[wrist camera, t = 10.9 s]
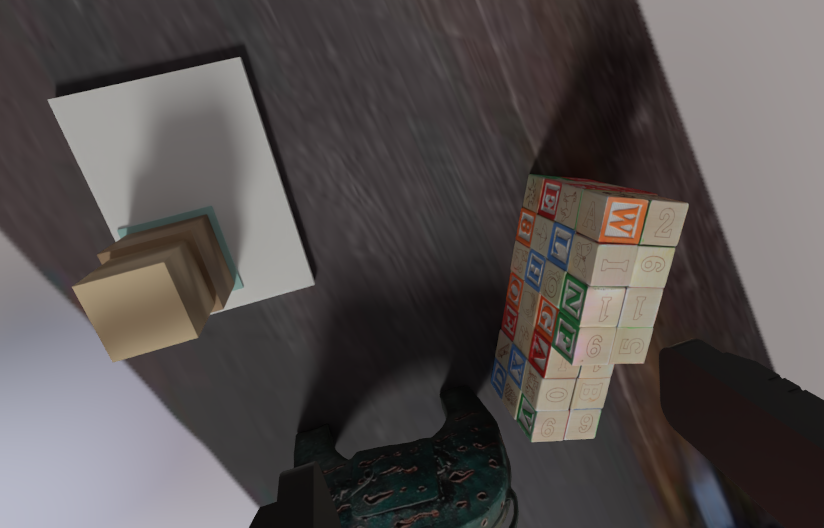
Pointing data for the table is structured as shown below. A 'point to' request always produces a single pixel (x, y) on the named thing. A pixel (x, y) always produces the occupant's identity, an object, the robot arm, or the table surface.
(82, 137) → the build board
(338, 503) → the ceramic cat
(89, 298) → the oak cube
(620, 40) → the table surface
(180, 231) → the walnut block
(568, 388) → the stack of blocks
